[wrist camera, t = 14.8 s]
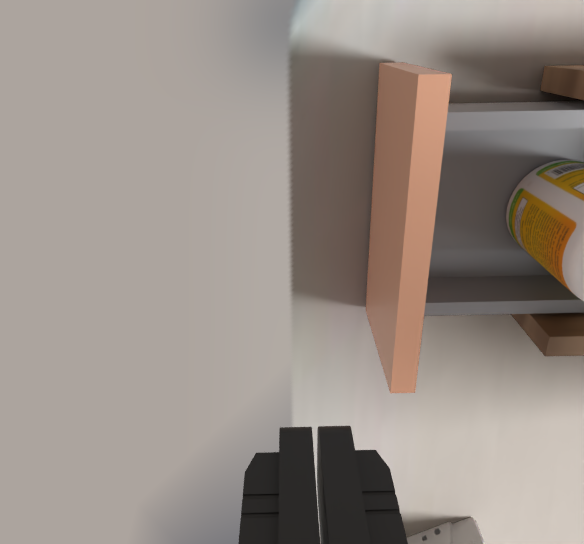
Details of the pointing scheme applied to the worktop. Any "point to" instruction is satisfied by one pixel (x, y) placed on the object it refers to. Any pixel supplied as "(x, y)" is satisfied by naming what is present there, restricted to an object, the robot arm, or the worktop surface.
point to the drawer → (454, 210)
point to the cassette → (450, 534)
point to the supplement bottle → (552, 220)
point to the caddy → (558, 326)
